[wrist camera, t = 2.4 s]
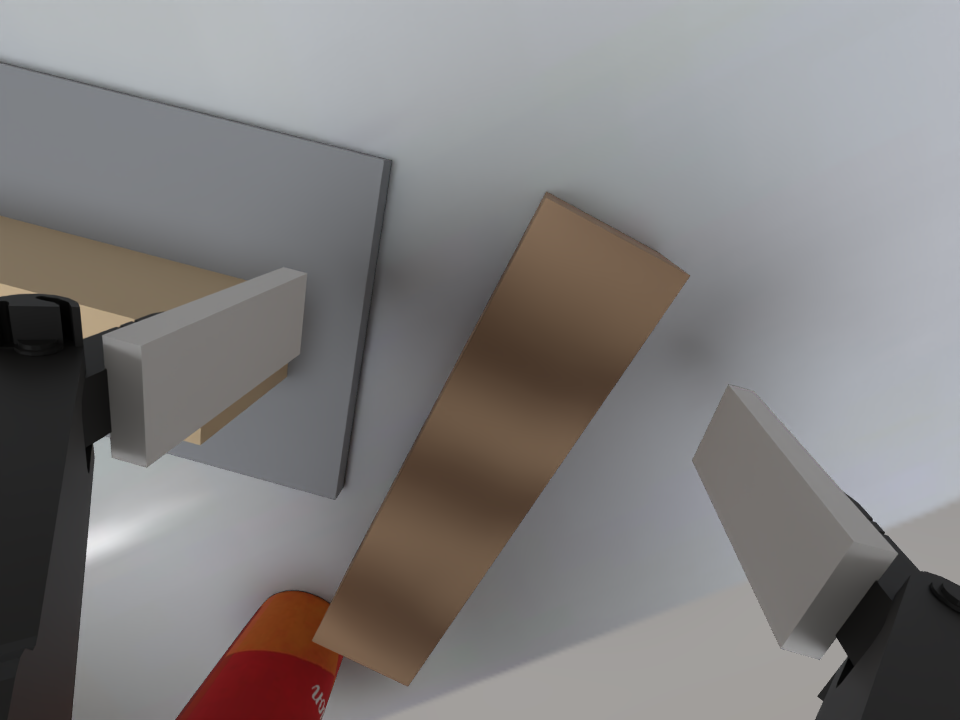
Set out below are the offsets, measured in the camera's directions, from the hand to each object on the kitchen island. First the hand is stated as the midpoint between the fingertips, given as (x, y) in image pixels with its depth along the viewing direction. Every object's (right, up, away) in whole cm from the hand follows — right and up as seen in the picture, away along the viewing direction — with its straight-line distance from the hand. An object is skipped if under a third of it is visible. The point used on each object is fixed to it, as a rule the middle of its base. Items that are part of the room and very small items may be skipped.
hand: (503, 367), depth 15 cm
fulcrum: (-16, +3, +8) cm, 18 cm away
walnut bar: (-1, -3, +8) cm, 9 cm away
